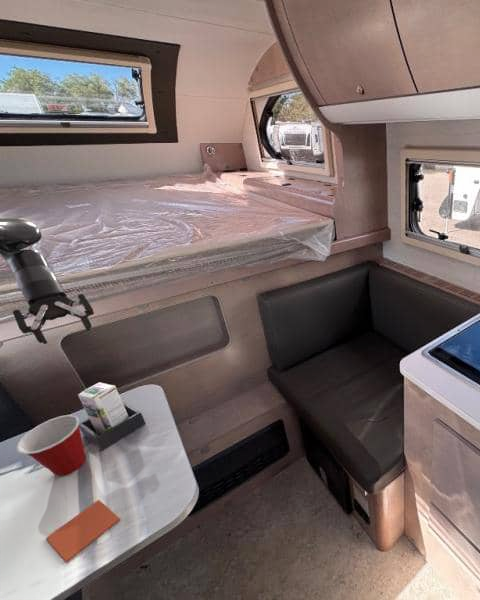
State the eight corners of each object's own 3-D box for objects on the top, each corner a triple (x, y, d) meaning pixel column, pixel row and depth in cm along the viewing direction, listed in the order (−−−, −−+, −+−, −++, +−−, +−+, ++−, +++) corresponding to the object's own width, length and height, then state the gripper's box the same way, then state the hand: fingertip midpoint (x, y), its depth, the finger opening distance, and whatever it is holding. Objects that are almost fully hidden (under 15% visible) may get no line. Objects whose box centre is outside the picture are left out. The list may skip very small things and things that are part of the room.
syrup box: (96, 435, 90) (75, 395, 84) (118, 420, 95) (99, 381, 89) (112, 440, 89) (92, 399, 83) (133, 424, 94) (115, 384, 88)
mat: (66, 562, 63) (66, 561, 62) (46, 539, 66) (45, 537, 66) (120, 519, 70) (119, 518, 70) (99, 500, 74) (98, 499, 73)
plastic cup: (30, 476, 79) (5, 440, 74) (84, 443, 88) (65, 409, 83) (52, 494, 75) (28, 458, 70) (107, 457, 84) (88, 423, 79)
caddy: (103, 450, 86) (96, 438, 84) (84, 436, 90) (77, 424, 88) (145, 423, 94) (140, 412, 92) (126, 411, 98) (121, 400, 96)
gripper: (-3, 287, 80) (25, 342, 79) (73, 271, 91) (100, 320, 89) (6, 300, 86) (33, 352, 84) (77, 284, 96) (102, 330, 94)
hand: (67, 336), depth 87 cm, fingers open, 8 cm apart
